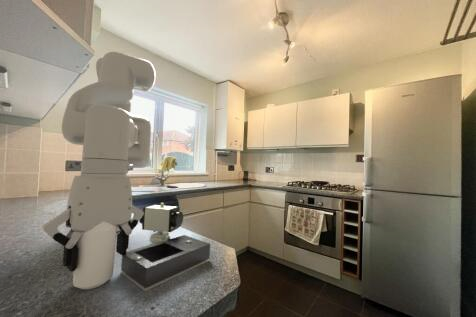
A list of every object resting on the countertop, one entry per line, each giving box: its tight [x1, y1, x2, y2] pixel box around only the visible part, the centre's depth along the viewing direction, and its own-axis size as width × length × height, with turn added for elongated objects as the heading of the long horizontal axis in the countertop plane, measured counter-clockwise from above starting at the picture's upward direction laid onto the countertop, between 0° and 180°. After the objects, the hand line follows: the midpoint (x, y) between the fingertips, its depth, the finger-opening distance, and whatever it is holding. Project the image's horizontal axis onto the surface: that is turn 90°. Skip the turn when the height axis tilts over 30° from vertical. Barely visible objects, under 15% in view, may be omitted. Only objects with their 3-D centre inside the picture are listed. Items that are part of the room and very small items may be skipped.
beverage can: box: [72, 222, 117, 290], centre depth 38 cm, size 6×6×12 cm
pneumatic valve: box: [138, 202, 184, 245], centre depth 57 cm, size 6×12×12 cm, turn 78°
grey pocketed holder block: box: [120, 234, 211, 292], centre depth 44 cm, size 10×16×4 cm, turn 143°
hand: (98, 260), depth 38 cm, fingers open, 7 cm apart
